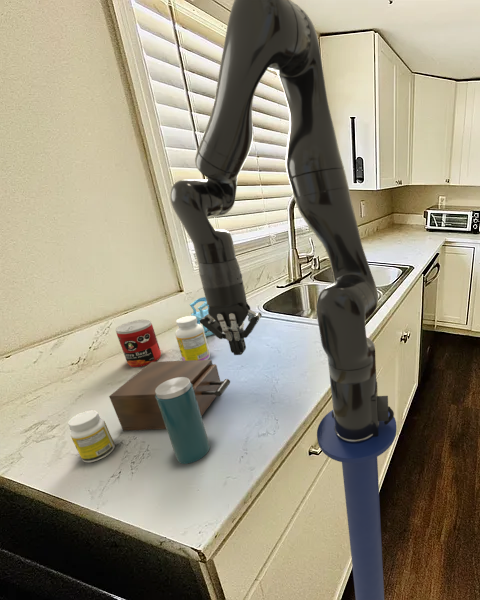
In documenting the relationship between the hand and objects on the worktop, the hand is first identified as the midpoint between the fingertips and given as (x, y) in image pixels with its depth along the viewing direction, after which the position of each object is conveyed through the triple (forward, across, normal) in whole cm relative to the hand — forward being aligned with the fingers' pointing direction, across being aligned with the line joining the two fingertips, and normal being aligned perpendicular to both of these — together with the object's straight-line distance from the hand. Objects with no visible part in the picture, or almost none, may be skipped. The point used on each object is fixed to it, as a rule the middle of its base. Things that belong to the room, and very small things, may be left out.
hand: (239, 353), depth 74 cm
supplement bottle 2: (+10, -20, +16) cm, 28 cm away
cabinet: (+10, -14, -5) cm, 18 cm away
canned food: (+10, -35, +17) cm, 41 cm away
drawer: (+10, -11, -5) cm, 15 cm away
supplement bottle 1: (+11, -21, -17) cm, 29 cm away
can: (+11, -4, -18) cm, 21 cm away
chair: (+10, -26, +34) cm, 44 cm away
